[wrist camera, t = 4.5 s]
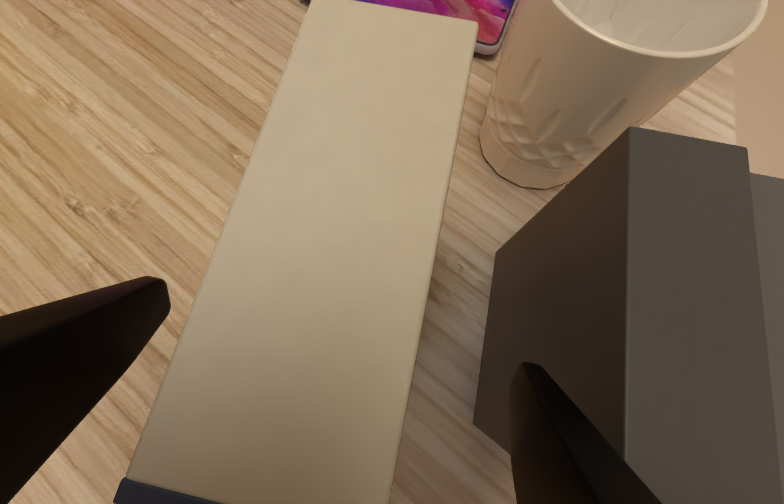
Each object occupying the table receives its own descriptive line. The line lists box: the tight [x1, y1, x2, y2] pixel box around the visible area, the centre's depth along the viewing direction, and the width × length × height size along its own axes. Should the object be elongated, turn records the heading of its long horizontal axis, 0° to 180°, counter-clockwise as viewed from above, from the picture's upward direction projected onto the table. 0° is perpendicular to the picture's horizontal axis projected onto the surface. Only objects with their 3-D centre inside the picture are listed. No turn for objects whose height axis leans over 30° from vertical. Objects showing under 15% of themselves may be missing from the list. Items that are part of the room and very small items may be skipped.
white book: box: [113, 0, 479, 504], centre depth 12 cm, size 9×4×13 cm, turn 168°
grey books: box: [473, 126, 784, 504], centre depth 12 cm, size 9×6×11 cm, turn 168°
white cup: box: [479, 0, 769, 189], centre depth 16 cm, size 8×8×10 cm
